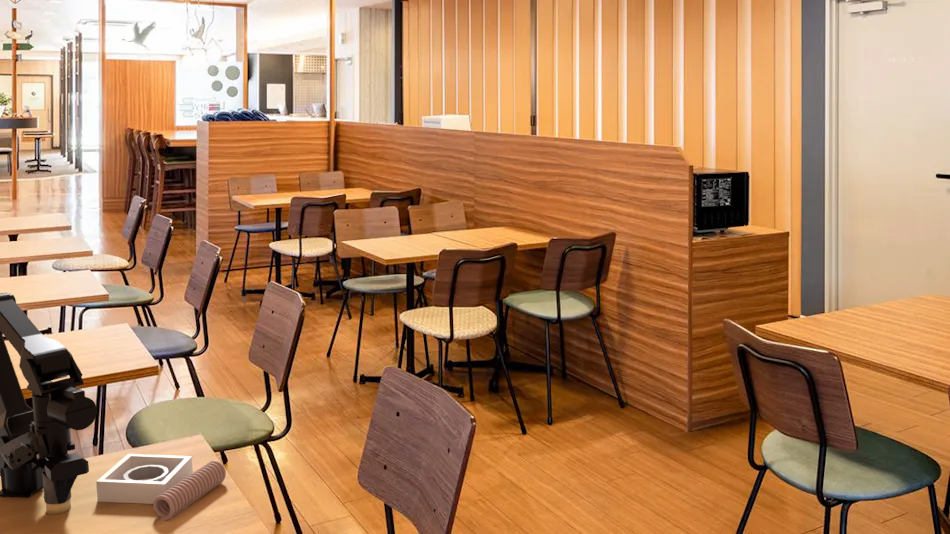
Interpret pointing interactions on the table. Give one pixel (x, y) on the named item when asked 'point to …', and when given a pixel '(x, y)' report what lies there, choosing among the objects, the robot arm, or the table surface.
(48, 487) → the plug
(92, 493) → the table surface
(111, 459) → the table surface
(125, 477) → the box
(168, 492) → the coil
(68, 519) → the table surface
